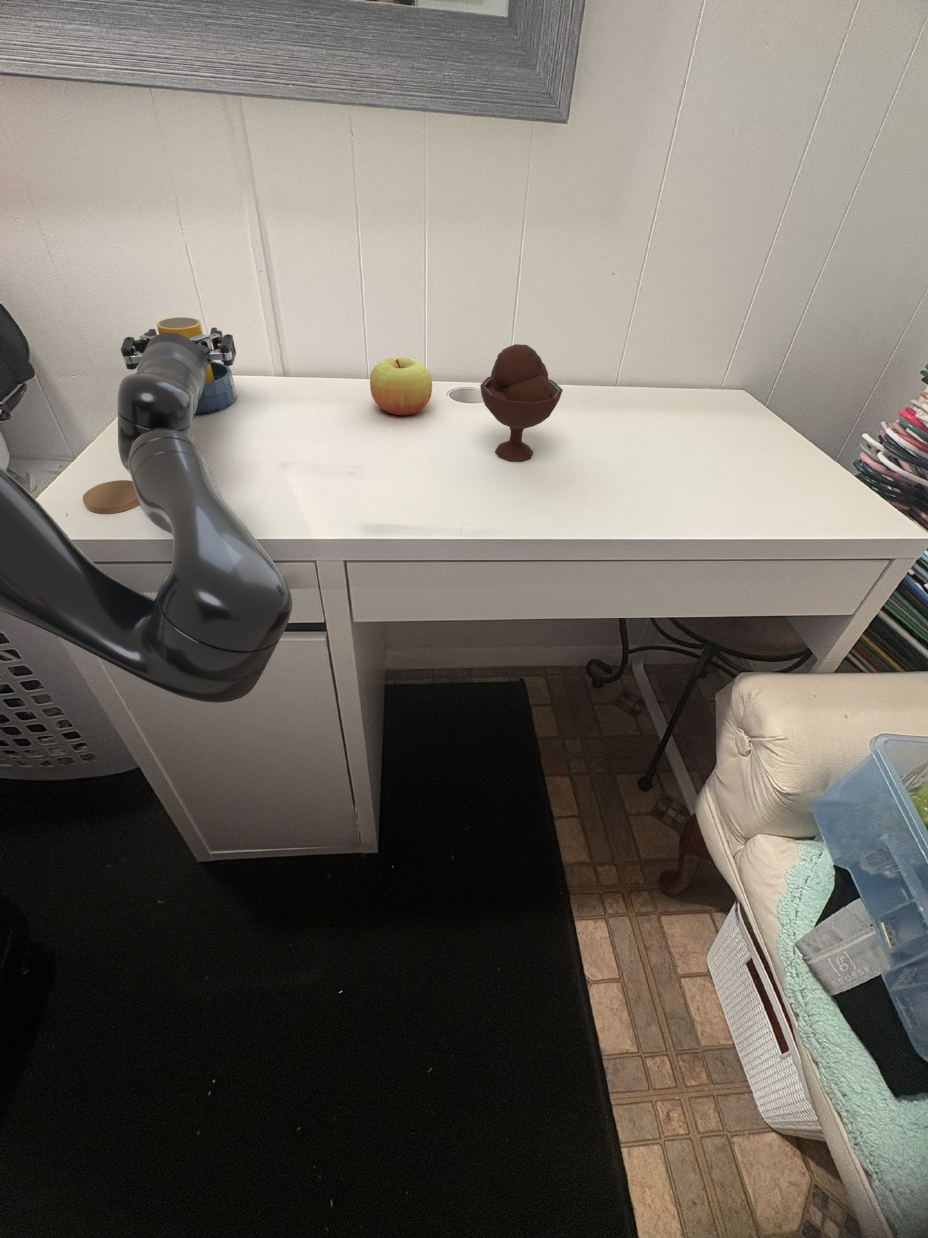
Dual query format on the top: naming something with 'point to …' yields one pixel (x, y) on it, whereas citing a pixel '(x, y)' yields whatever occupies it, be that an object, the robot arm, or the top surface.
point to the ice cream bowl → (519, 397)
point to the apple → (401, 385)
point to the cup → (185, 333)
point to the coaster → (111, 497)
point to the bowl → (217, 390)
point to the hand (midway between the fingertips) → (185, 335)
